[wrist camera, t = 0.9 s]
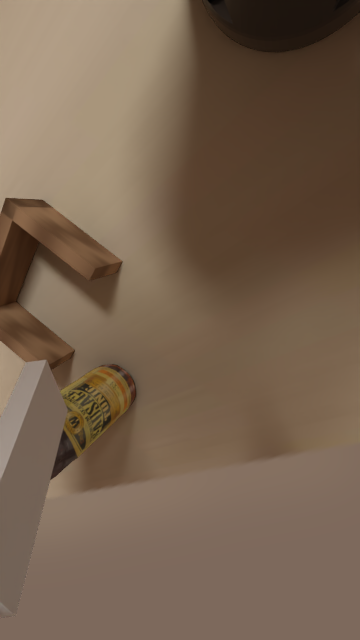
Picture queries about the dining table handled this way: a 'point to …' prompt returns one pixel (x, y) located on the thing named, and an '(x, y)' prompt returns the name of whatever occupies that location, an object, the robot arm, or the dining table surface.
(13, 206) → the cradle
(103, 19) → the dining table surface
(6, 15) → the dining table surface
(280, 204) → the dining table surface
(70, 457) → the sauce bottle
